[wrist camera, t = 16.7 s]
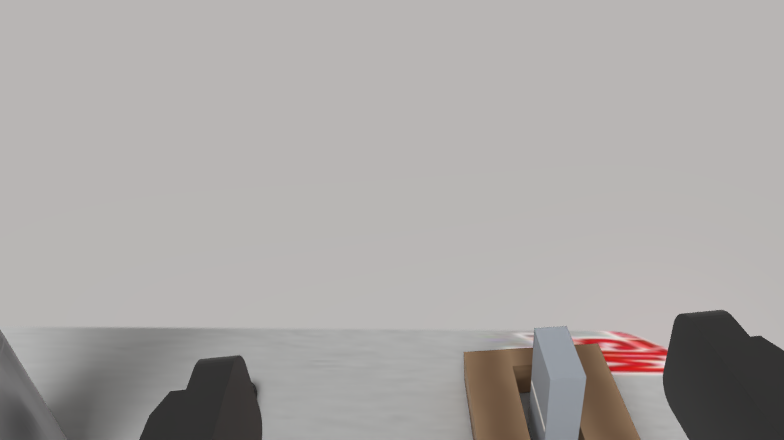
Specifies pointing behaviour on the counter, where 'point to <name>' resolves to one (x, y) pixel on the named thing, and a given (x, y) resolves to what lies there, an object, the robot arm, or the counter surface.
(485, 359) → the rack
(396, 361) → the counter surface
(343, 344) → the counter surface
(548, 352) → the domino
